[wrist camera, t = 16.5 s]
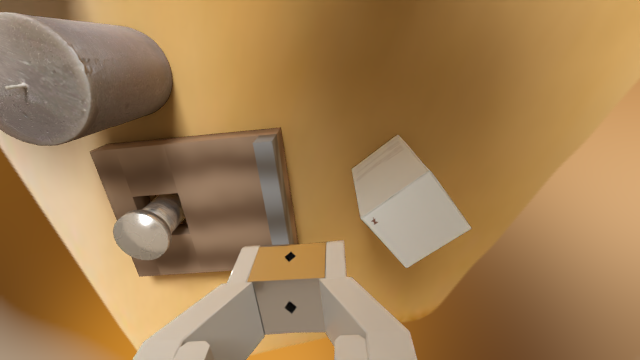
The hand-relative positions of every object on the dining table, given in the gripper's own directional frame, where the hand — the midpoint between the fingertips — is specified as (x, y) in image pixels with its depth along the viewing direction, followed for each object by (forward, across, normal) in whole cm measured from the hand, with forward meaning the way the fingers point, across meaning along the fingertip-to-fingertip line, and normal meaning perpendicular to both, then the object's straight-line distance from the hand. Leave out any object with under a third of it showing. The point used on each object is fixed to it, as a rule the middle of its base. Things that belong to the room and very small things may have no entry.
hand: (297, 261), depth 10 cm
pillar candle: (+30, +21, -5) cm, 37 cm away
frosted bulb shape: (+29, +21, +12) cm, 38 cm away
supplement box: (+30, -8, +10) cm, 32 cm away
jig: (+29, +16, +12) cm, 36 cm away
